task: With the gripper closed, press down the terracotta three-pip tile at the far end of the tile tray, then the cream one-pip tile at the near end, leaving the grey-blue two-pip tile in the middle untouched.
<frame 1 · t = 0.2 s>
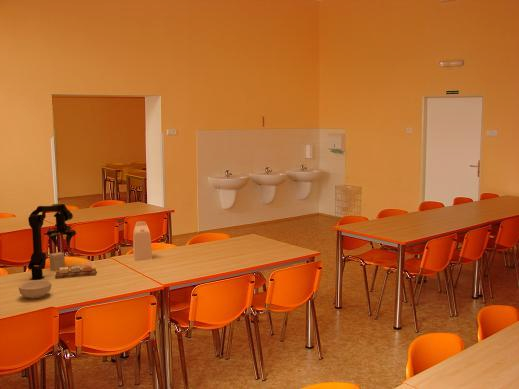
hand: (62, 245, 367), 15 cm above the table, fingers open, 9 cm apart
milk: (142, 258, 388), on the table
tile tray: (76, 274, 348), on the table
tile three pip: (87, 268, 350), point 4 cm above the table, slide at 0.0 cm
tile two pip: (75, 269, 348), point 4 cm above the table, slide at 0.0 cm
tile one pip: (63, 270, 346), point 4 cm above the table, slide at 0.0 cm
small box: (57, 269, 363), on the table
cereal bowl: (36, 296, 306), on the table
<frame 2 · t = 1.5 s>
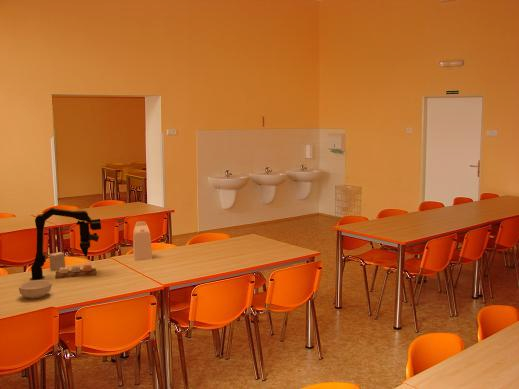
hand: (86, 255, 349), 12 cm above the table, fingers open, 9 cm apart
nothing on the table moved.
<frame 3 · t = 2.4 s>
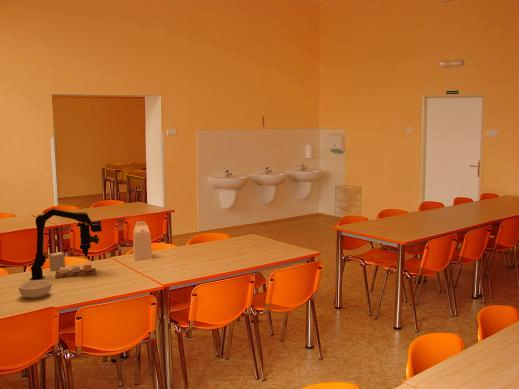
hand: (86, 256, 349), 11 cm above the table, fingers closed
nothing on the table moved.
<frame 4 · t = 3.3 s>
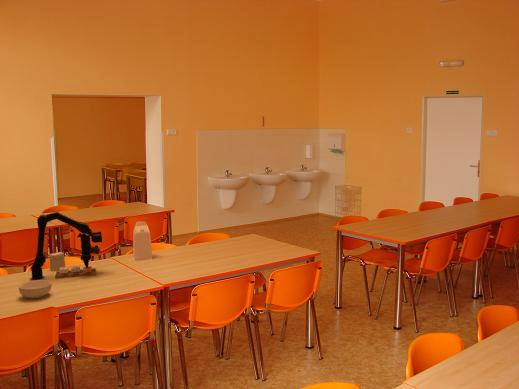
hand: (87, 267, 349), 4 cm above the table, fingers closed, pressing on tile three pip
tile three pip: (87, 269, 350), point 3 cm above the table, slide at 1.0 cm, touching gripper
everything else where it was.
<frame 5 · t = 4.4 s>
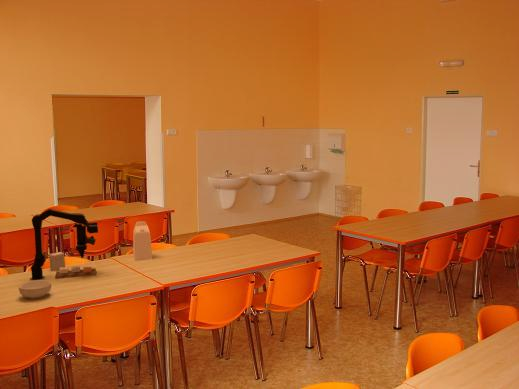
hand: (82, 258, 348), 11 cm above the table, fingers closed
tile three pip: (87, 269, 350), point 3 cm above the table, slide at 1.1 cm
everything else where it was.
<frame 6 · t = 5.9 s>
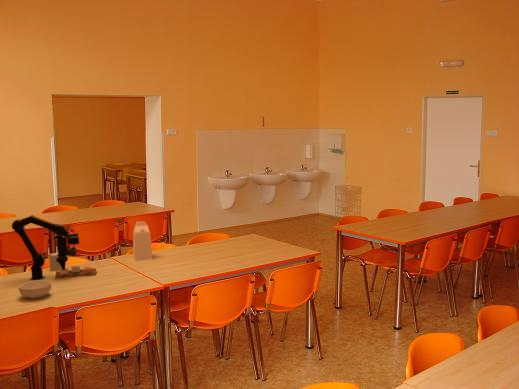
hand: (63, 269, 346), 4 cm above the table, fingers closed, pressing on tile one pip
tile one pip: (64, 271, 346), point 3 cm above the table, slide at 1.1 cm, touching gripper
everything else where it was.
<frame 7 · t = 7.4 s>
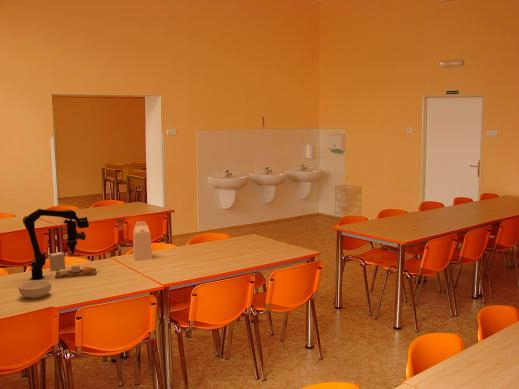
hand: (73, 253, 352), 13 cm above the table, fingers closed
tile one pip: (64, 271, 346), point 3 cm above the table, slide at 1.1 cm
everything else where it was.
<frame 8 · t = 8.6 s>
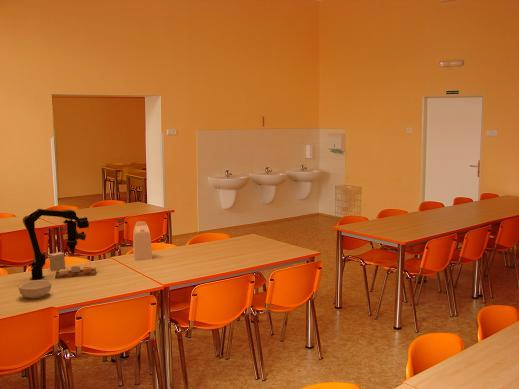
hand: (73, 253, 352), 12 cm above the table, fingers closed
nothing on the table moved.
at the end: tile three pip slide at 1.1 cm; tile one pip slide at 1.1 cm; tile two pip slide at 0.0 cm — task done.
